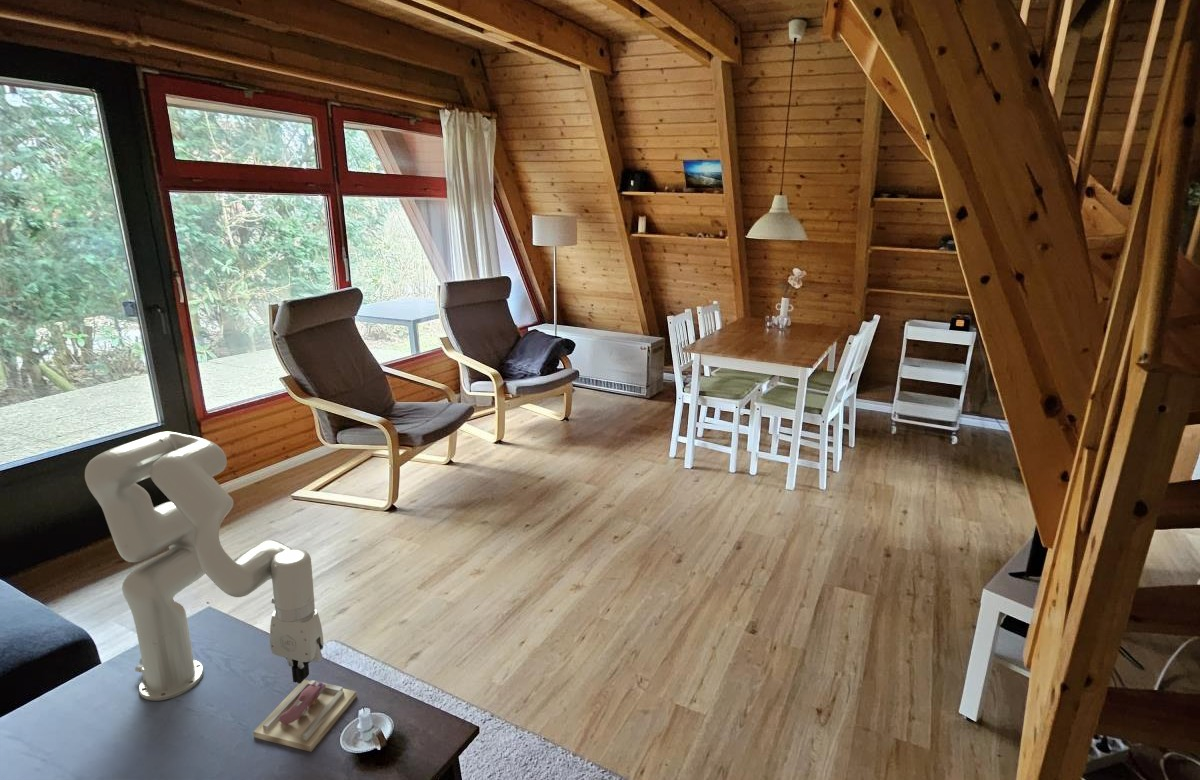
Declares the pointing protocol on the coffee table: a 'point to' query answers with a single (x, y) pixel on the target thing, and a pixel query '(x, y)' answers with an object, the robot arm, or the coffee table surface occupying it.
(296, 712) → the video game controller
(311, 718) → the dock
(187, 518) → the robot arm
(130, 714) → the coffee table surface
